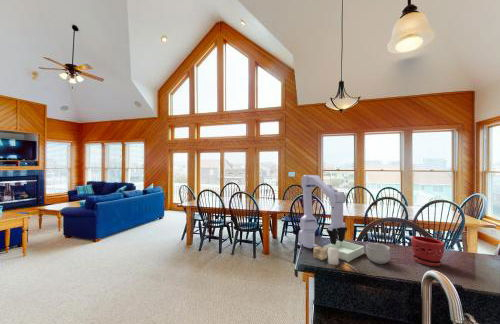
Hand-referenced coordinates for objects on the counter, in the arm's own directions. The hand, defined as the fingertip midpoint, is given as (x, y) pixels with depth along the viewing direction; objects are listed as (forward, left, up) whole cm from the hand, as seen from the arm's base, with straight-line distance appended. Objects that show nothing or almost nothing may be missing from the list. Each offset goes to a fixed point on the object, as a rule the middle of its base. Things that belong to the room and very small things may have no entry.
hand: (337, 242), depth 110 cm
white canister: (-1, -2, -10) cm, 10 cm away
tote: (-4, +15, -10) cm, 18 cm away
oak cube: (-9, -1, -10) cm, 14 cm away
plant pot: (+29, +38, -10) cm, 49 cm away
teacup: (+12, +20, -10) cm, 25 cm away
